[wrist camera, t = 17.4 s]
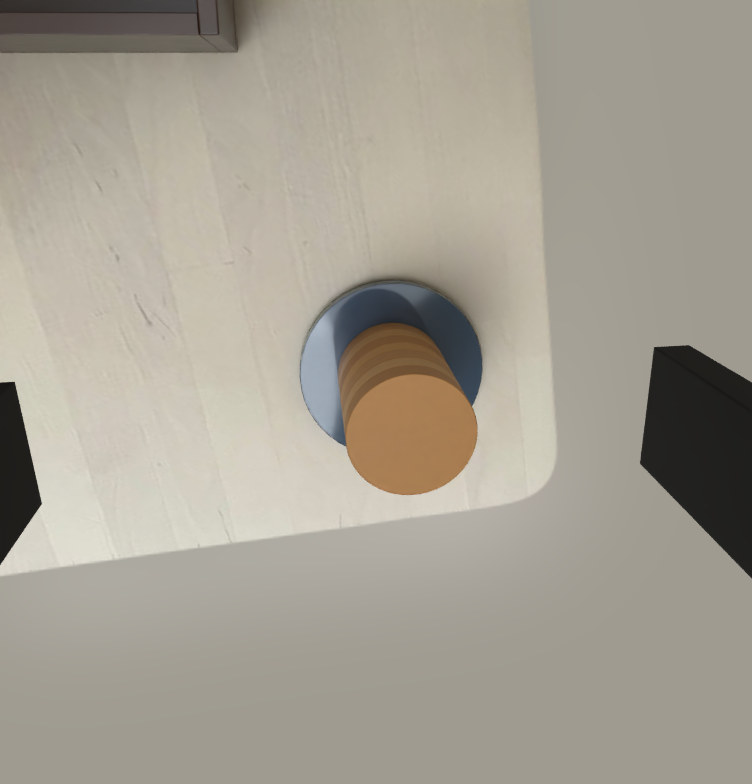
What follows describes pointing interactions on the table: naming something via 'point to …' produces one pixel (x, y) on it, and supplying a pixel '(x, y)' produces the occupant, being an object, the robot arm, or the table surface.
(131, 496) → the table surface
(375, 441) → the cookies
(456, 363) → the plate
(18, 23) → the chest
